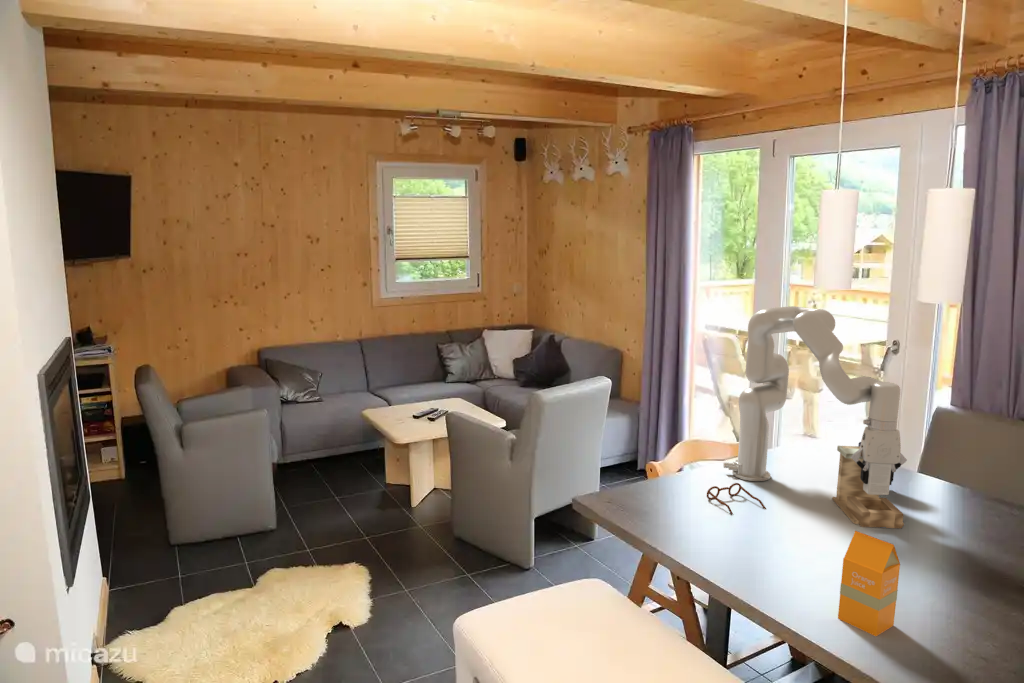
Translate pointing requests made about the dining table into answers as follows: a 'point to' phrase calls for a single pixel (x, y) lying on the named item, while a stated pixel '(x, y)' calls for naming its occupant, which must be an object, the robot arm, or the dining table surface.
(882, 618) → the orange juice
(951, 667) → the dining table surface
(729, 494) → the glasses
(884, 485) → the skincare box
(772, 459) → the dining table surface
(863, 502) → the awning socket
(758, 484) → the dining table surface
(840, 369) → the robot arm
